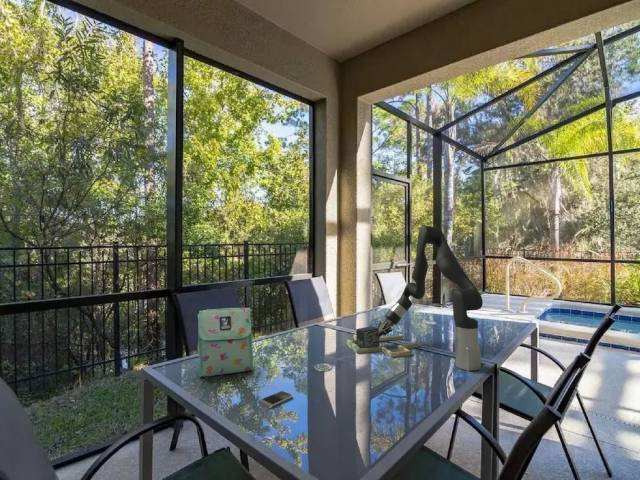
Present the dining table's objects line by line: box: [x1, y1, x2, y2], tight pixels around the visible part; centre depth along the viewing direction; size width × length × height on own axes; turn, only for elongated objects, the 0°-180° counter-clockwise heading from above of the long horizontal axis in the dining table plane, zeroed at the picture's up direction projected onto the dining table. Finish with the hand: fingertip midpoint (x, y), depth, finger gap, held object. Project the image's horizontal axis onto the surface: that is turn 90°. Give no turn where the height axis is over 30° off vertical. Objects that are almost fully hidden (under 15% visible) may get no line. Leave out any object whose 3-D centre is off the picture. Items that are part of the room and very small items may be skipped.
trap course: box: [345, 333, 419, 358], centre depth 181 cm, size 37×33×3 cm
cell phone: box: [258, 391, 294, 410], centre depth 118 cm, size 6×11×1 cm, turn 137°
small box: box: [355, 325, 380, 349], centre depth 176 cm, size 11×6×10 cm, turn 124°
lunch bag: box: [197, 307, 254, 378], centre depth 149 cm, size 23×16×27 cm
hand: (375, 338), depth 180 cm, fingers closed
